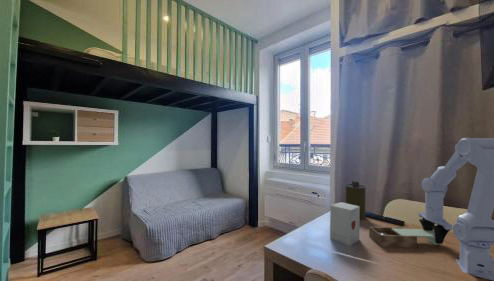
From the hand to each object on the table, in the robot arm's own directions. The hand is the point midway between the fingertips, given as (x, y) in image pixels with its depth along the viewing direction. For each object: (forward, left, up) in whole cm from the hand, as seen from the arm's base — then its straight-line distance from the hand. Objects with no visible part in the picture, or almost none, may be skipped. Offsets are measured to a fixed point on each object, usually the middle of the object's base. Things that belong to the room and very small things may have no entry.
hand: (433, 240), depth 91 cm
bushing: (-10, +18, -1) cm, 20 cm away
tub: (-8, +15, -2) cm, 17 cm away
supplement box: (-16, +32, -2) cm, 36 cm away
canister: (+20, +32, -2) cm, 37 cm away
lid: (-4, +6, -1) cm, 7 cm away
